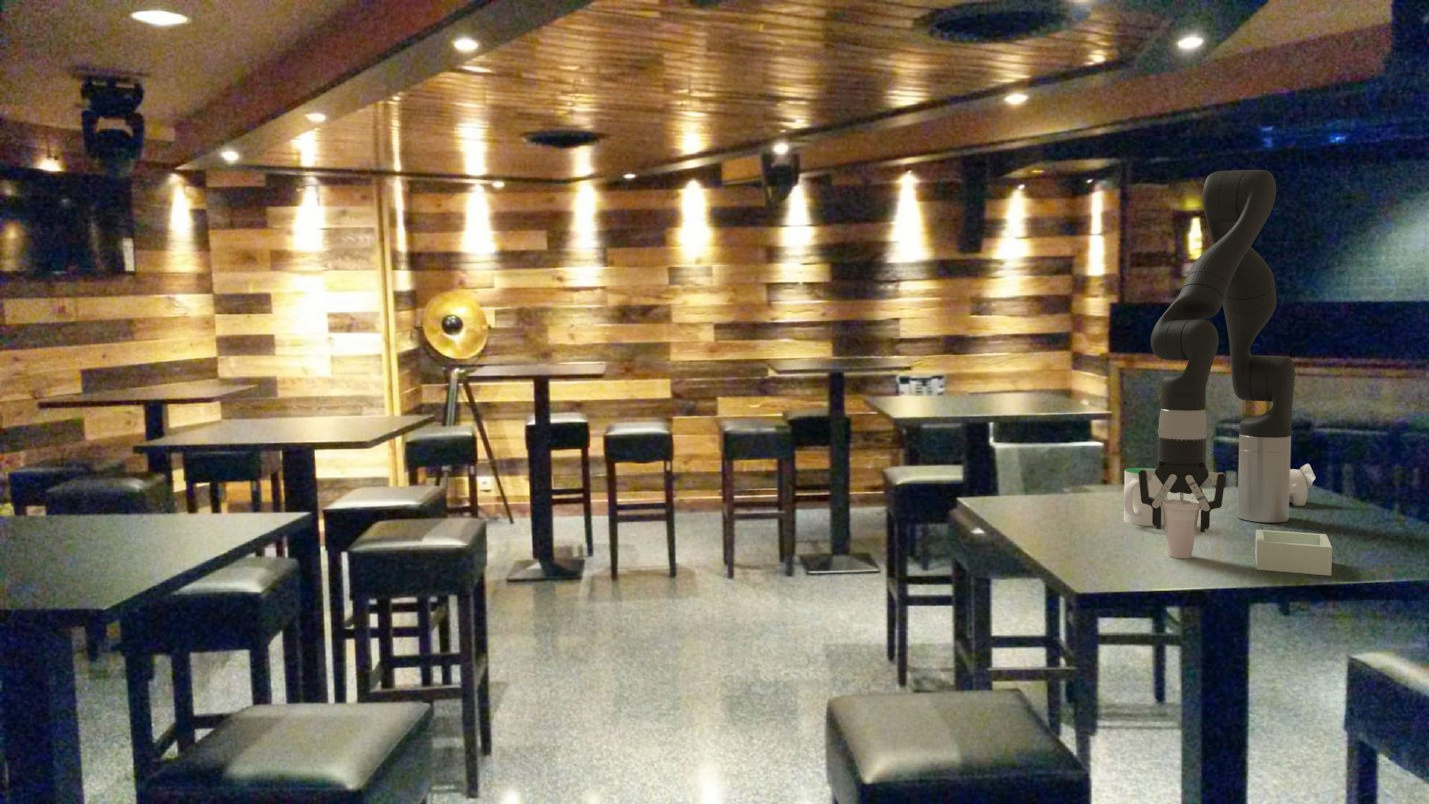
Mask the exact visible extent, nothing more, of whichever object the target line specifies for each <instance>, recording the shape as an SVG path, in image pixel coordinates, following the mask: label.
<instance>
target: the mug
mask: <svg viewBox="0 0 1429 804" xmlns="http://www.w3.org/2000/svg"><path fill="white" fill-rule="evenodd" d="M1143 468H1144V469H1146V470H1148V469H1152V468H1151V467H1150V468H1147V467H1133V468H1127V469H1124V484H1123V485H1124V493H1123V506H1124V507H1123V522H1125V523H1127V524H1131V525H1136V526H1145V527H1149V526H1150V527H1152V526H1153V523H1152V507H1151V506H1150V505H1147V504H1143V503H1142V502H1141V494H1140V483H1139V471H1140V470H1141V469H1143ZM1162 486H1163V484H1162V483H1161V482H1160V480H1159V479H1158V478H1157V476H1156V475H1154V476H1152V480H1151V481H1150V482H1148V489H1149V497H1152V498H1154V499H1155V497H1156V496H1157V494H1158V492H1159V491H1160V489H1161V487H1162ZM1164 499H1168V494H1167V495H1166V497H1165V498H1164ZM1160 507H1162V506H1161V504H1160ZM1161 526H1165V520H1164V511H1163V507H1162V513H1161ZM1153 527H1154V526H1153Z"/></svg>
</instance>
